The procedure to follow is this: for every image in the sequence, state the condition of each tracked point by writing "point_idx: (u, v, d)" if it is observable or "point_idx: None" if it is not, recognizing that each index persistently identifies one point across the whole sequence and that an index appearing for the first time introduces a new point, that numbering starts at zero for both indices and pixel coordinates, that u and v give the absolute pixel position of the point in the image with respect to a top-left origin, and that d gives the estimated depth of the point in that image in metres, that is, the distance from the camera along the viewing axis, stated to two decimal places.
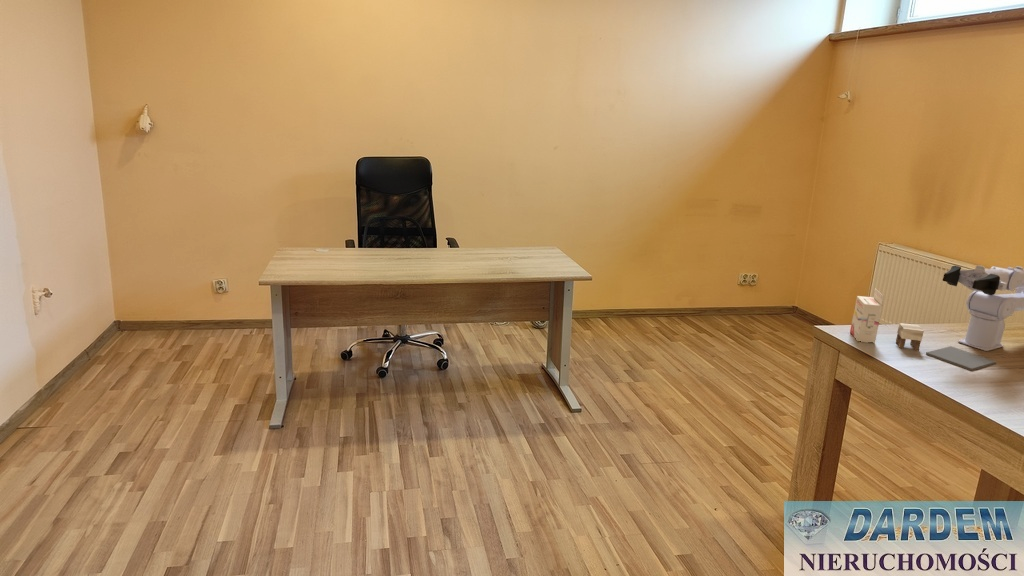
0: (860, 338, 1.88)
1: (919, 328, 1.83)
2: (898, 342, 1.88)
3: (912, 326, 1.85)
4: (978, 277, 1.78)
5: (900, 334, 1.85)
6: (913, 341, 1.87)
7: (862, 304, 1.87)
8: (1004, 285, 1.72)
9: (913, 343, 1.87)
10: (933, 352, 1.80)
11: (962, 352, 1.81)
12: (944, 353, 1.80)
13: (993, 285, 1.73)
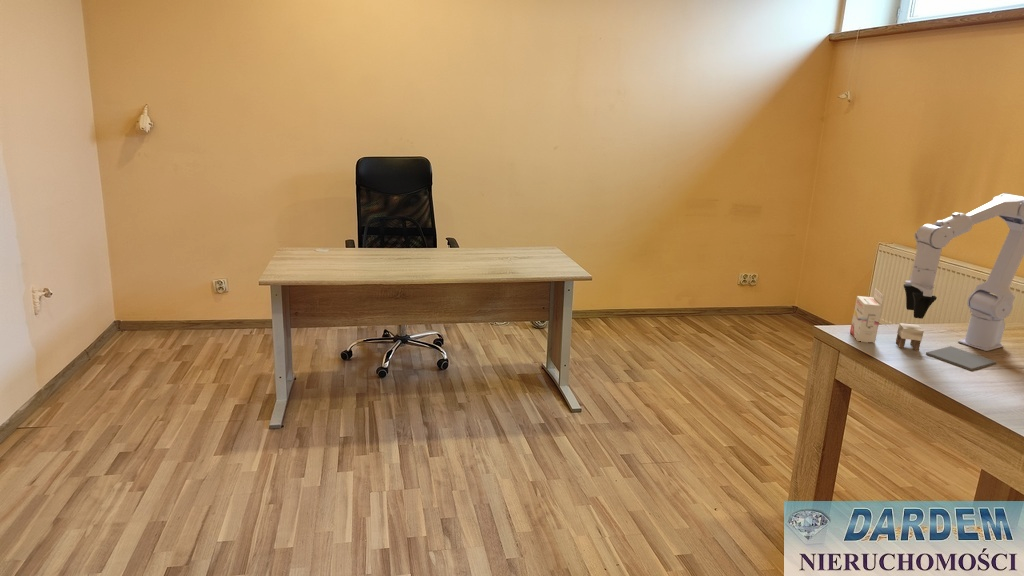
0: (860, 338, 1.88)
1: (919, 328, 1.83)
2: (898, 342, 1.88)
3: (912, 326, 1.85)
4: None
5: (900, 334, 1.85)
6: (913, 341, 1.87)
7: (862, 304, 1.87)
8: (926, 294, 1.74)
9: (913, 343, 1.87)
10: (933, 352, 1.80)
11: (962, 352, 1.81)
12: (944, 353, 1.80)
13: None
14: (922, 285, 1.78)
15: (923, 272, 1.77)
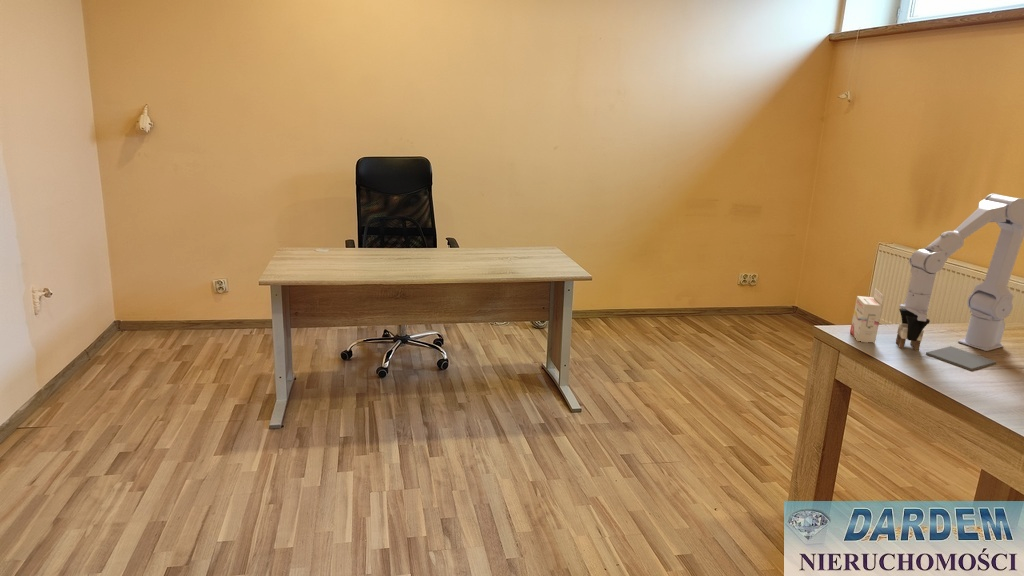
0: (860, 338, 1.88)
1: None
2: (898, 342, 1.88)
3: None
4: None
5: (900, 334, 1.85)
6: (913, 341, 1.87)
7: (862, 304, 1.87)
8: (920, 318, 1.76)
9: (913, 343, 1.87)
10: (933, 352, 1.80)
11: (962, 352, 1.81)
12: (944, 353, 1.80)
13: None
14: (916, 309, 1.80)
15: (917, 296, 1.79)
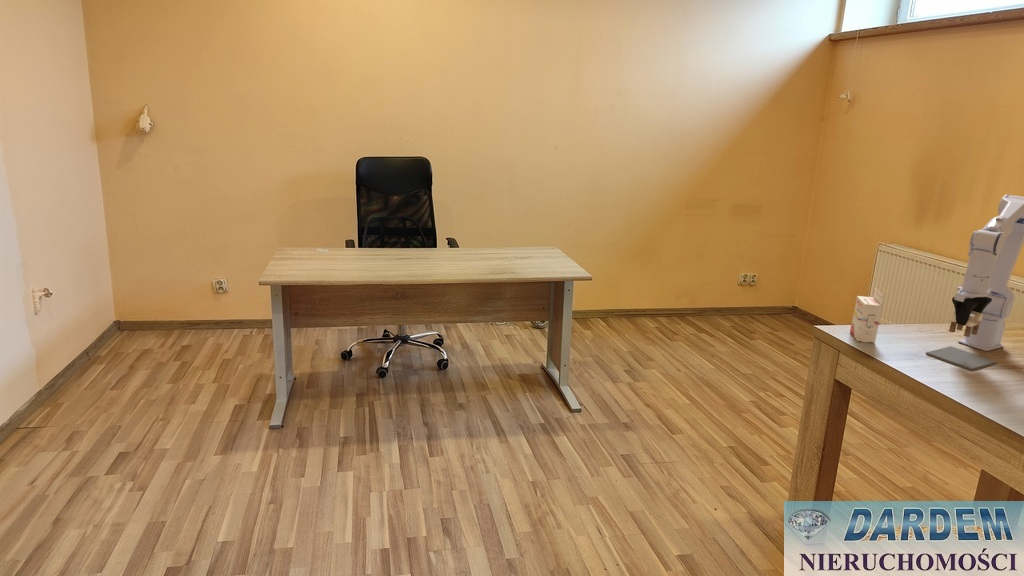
0: (860, 338, 1.88)
1: (974, 314, 1.73)
2: (958, 328, 1.79)
3: None
4: None
5: None
6: (973, 329, 1.76)
7: (862, 304, 1.87)
8: (956, 298, 1.70)
9: (973, 332, 1.76)
10: (933, 352, 1.80)
11: (962, 352, 1.81)
12: (944, 353, 1.80)
13: None
14: (966, 291, 1.72)
15: (968, 278, 1.72)
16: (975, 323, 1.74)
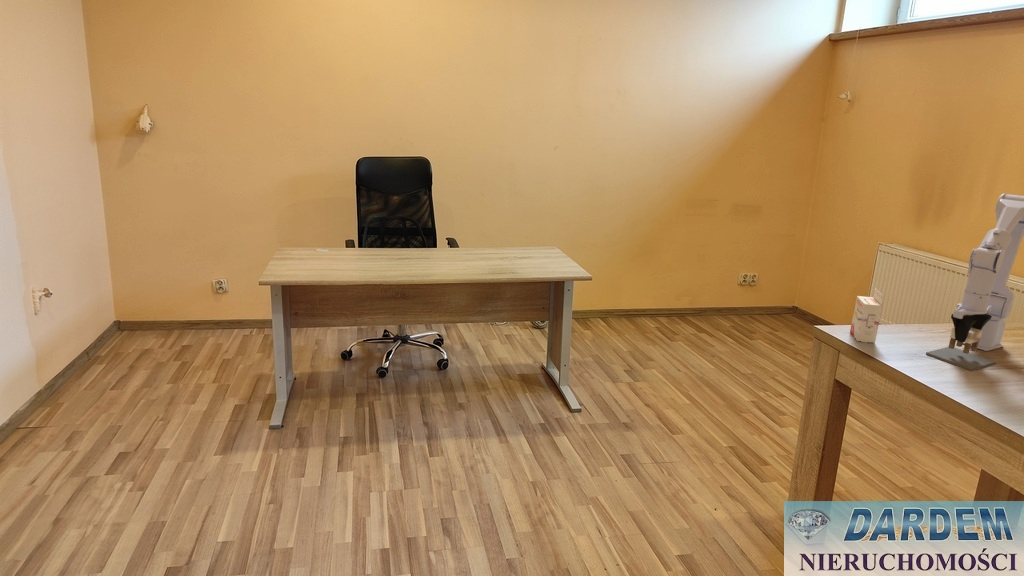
0: (860, 338, 1.88)
1: (973, 331, 1.74)
2: (958, 344, 1.80)
3: (970, 329, 1.76)
4: None
5: None
6: (973, 346, 1.76)
7: (862, 304, 1.87)
8: (955, 315, 1.71)
9: (973, 348, 1.76)
10: (933, 352, 1.80)
11: (962, 352, 1.81)
12: (944, 353, 1.80)
13: None
14: (965, 308, 1.73)
15: (967, 295, 1.73)
16: (974, 340, 1.74)
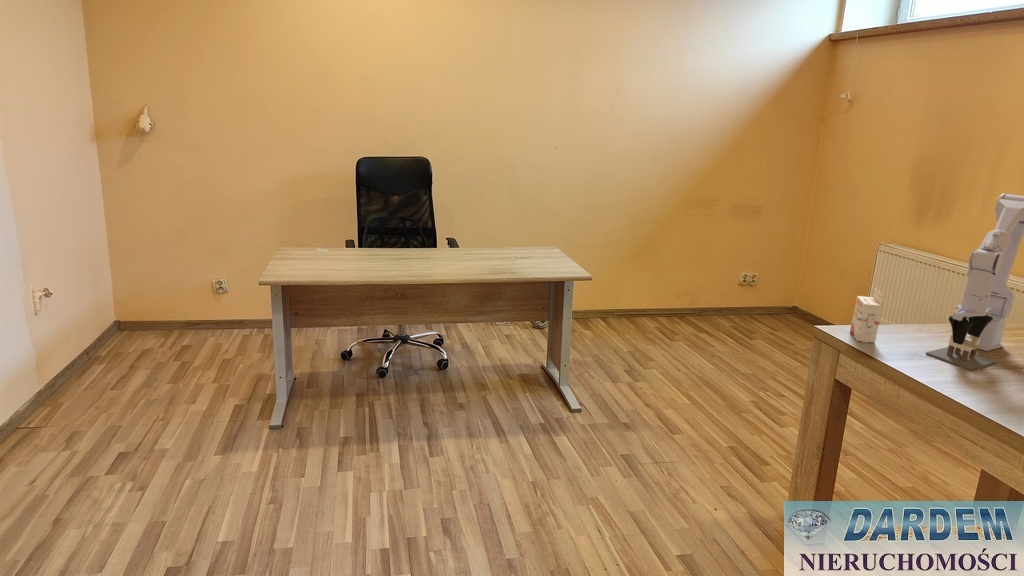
0: (860, 338, 1.88)
1: (971, 339, 1.75)
2: (956, 352, 1.80)
3: (968, 336, 1.76)
4: None
5: None
6: (971, 354, 1.77)
7: (862, 304, 1.87)
8: (955, 317, 1.72)
9: (971, 356, 1.77)
10: (933, 352, 1.80)
11: (962, 352, 1.81)
12: (944, 353, 1.80)
13: None
14: (964, 310, 1.73)
15: (967, 297, 1.73)
16: (972, 347, 1.75)
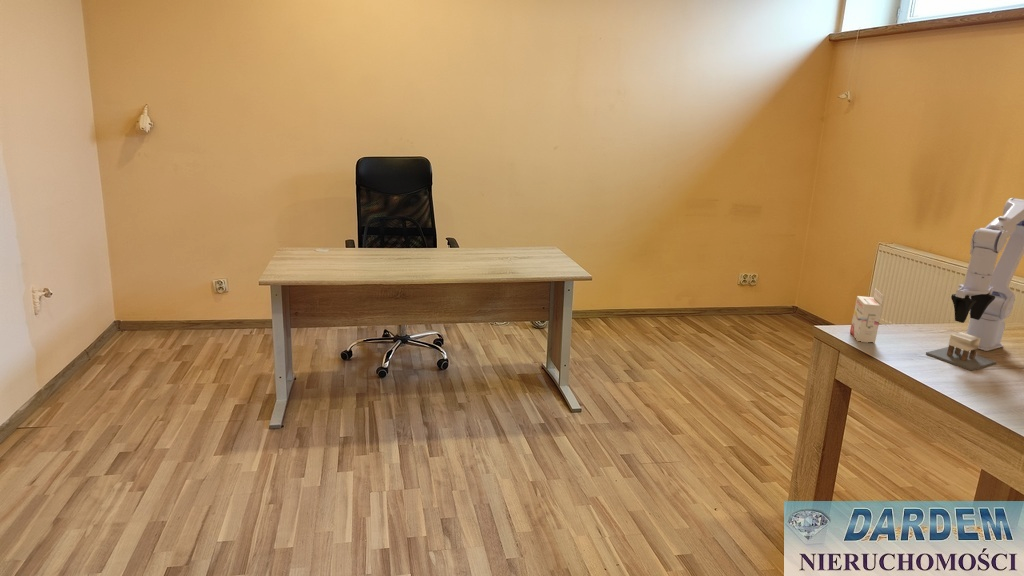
0: (860, 338, 1.88)
1: (971, 339, 1.75)
2: (956, 352, 1.80)
3: (968, 336, 1.76)
4: None
5: None
6: (971, 354, 1.77)
7: (862, 304, 1.87)
8: (957, 294, 1.73)
9: (971, 356, 1.77)
10: (933, 352, 1.80)
11: (962, 352, 1.81)
12: (944, 353, 1.80)
13: None
14: (967, 288, 1.75)
15: (969, 275, 1.74)
16: (972, 347, 1.75)
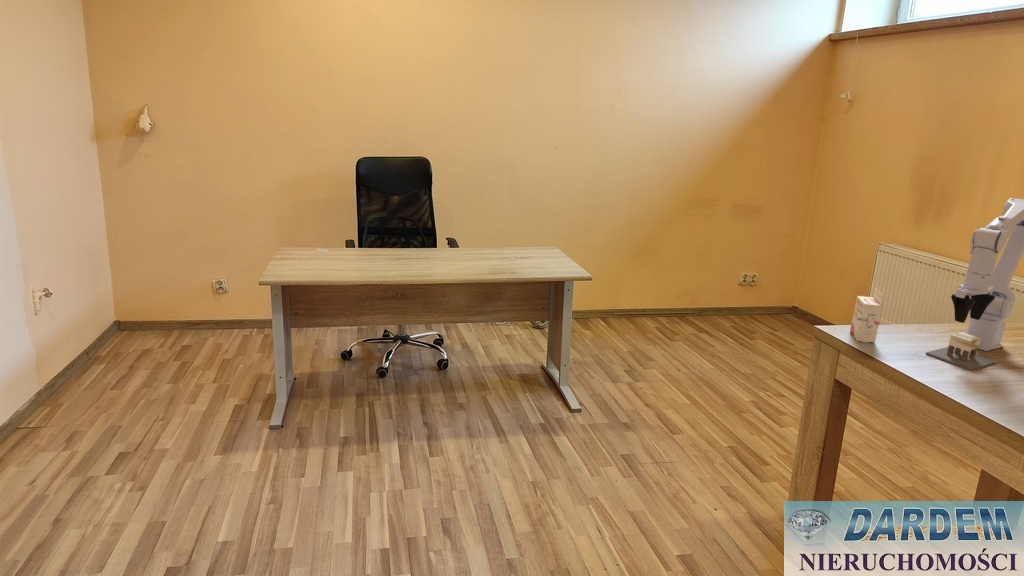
0: (860, 338, 1.88)
1: (971, 339, 1.75)
2: (956, 352, 1.80)
3: (968, 336, 1.76)
4: None
5: None
6: (971, 354, 1.77)
7: (862, 304, 1.87)
8: (957, 294, 1.73)
9: (971, 356, 1.77)
10: (933, 352, 1.80)
11: (962, 352, 1.81)
12: (944, 353, 1.80)
13: None
14: (967, 288, 1.75)
15: (969, 275, 1.74)
16: (972, 347, 1.75)
